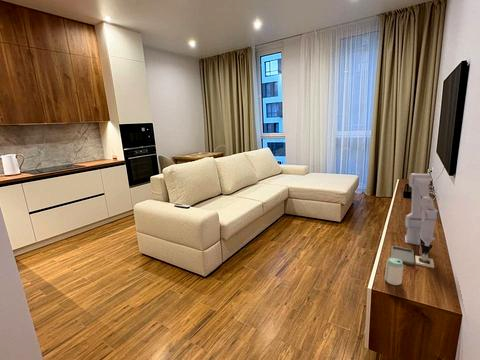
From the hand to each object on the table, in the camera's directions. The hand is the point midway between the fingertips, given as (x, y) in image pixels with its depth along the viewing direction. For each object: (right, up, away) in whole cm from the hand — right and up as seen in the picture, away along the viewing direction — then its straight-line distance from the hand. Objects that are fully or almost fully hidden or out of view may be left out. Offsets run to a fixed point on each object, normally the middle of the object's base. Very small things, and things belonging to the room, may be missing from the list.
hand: (423, 251), depth 145 cm
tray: (-11, -3, +2) cm, 12 cm away
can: (-29, -10, -19) cm, 36 cm away
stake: (-3, -4, -5) cm, 8 cm away
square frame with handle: (-2, -4, -3) cm, 6 cm away
